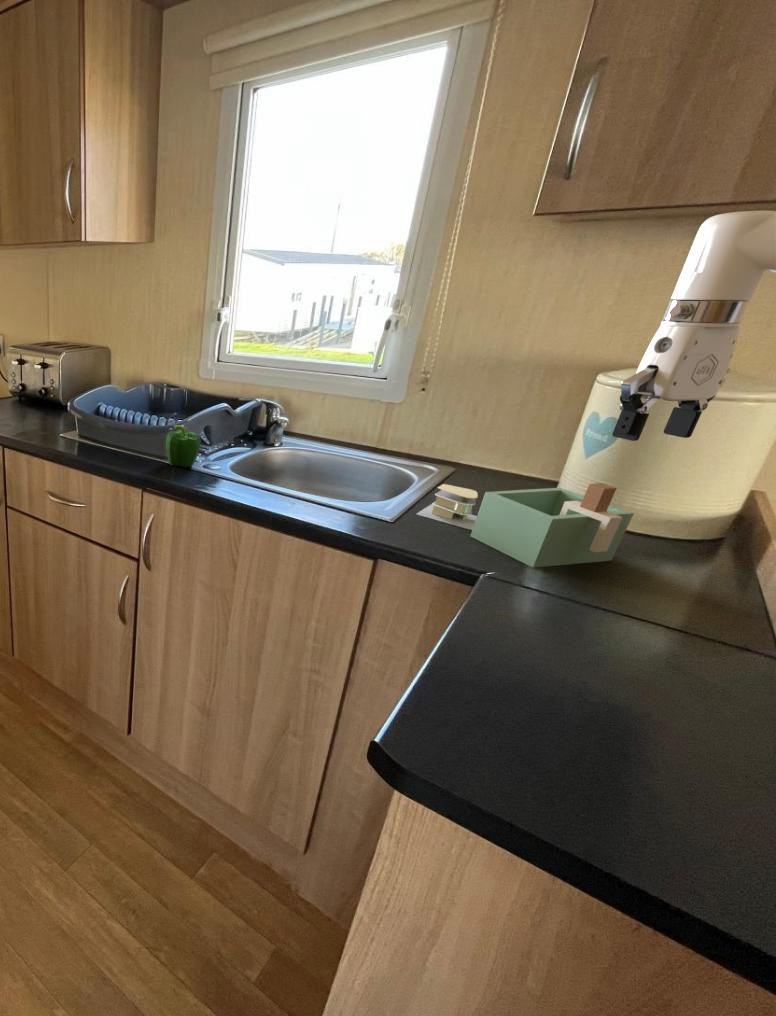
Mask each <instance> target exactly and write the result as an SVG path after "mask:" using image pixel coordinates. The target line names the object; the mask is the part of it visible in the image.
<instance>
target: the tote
mask: <svg viewBox="0 0 776 1016" xmlns="http://www.w3.org/2000/svg"><path fill="white" fill-rule="evenodd" d="M583 498H584V495H582V494H579V493H576V492H574V491H571V490H568V489H566V488H562V487H550V488H549V487H548V488H533V489H516V490H515V489H513V490H499V491H498V490H497V491H496V490H495V491H485V493H484V495H483V499H482V502H481V504H480V507H479V510H478V513H477V515H476V516H477V518H476V521H475V524H474V527H473V530H471V533H470V537H471V538H473V539H475V540H477V541H478V542H481V543H483V544H485V545H487V546H489V547H490V548H492V549H494V550H496V551H499V552H500V553H502V554H504V555H506V556H509V557H510V558H512V559H514V560H516V561H519V562H521V564H524V565H527V566H528V567H530V568H532V569H535V568H544V567H554V566H555V567H557V566H566V565H567V566H568V565H577V564H588V563H590V564H591V563H599V562H601V563H602V562H611V561H613V558H614V557H615V554H616V552H617V550H618V548H619V546H620V543H621V541H622V539H623V537H624V535H625V533H626V532H627V529H628V527H629V526H630V522H631V521H632V519H633V516H634V512H632V511H628V510H626V509H623V508H620V507H617V506H614V505H611V504H609V507H608V509H607V512H609V513H612V514H615V515H618V516H620V517H623V518H622V520H621V522H620V524H619V526H618V528H617V531H616V533H615V535H614V537H613V539H612V541H611V543H610V546H609V548H608V550H607V551H605V552H593V551H591V550H589V548H590V546H591V544H592V542H593V540H594V537H595V535H596V533H597V531H598V528H599V526H600V524H601V522H602V521H599V520H596V519H594V518H591V517H588V516H586V515H583V514H580V513H577V514H572V515H560V512H561V510H562V508H563V505H564V502H565V501H579V502H582V500H583Z"/></svg>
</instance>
